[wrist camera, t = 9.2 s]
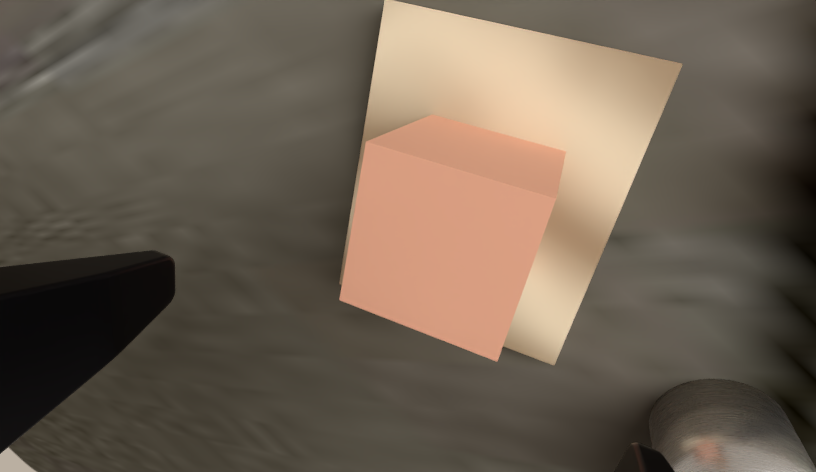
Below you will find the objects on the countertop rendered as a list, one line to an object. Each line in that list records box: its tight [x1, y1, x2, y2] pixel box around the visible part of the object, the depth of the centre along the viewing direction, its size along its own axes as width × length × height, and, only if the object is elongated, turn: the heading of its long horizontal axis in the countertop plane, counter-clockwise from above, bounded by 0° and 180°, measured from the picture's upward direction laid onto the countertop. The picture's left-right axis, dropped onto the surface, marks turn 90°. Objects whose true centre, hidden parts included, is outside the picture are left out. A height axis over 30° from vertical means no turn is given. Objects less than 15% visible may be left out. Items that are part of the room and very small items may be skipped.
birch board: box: [339, 0, 683, 365], centre depth 19 cm, size 12×10×1 cm
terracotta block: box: [340, 115, 566, 361], centre depth 15 cm, size 5×5×6 cm
